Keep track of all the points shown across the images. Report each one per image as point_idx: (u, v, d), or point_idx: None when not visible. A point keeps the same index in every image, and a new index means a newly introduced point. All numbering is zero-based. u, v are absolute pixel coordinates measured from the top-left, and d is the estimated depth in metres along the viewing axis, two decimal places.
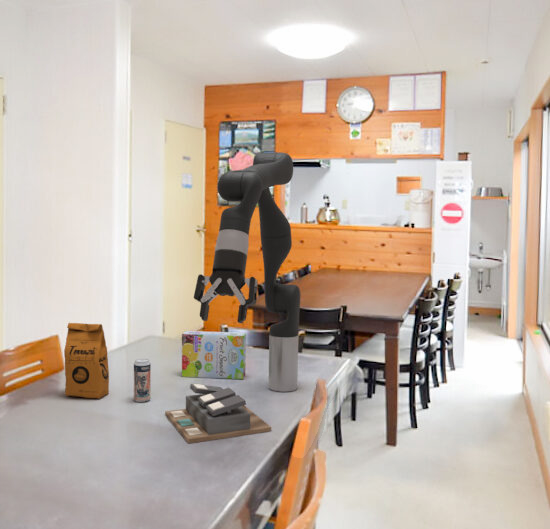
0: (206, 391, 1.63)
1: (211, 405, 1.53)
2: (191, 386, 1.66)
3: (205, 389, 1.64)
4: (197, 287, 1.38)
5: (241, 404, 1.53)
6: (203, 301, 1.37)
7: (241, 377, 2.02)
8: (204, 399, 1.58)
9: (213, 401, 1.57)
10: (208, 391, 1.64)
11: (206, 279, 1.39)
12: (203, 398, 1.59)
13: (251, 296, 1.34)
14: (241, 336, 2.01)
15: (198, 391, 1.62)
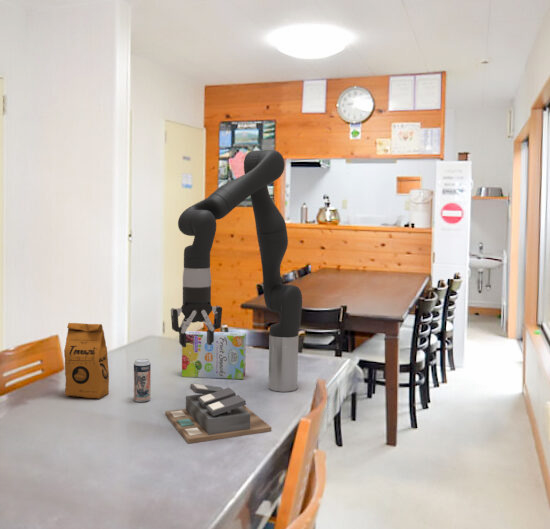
0: (206, 391, 1.63)
1: (211, 405, 1.53)
2: (191, 386, 1.66)
3: (205, 389, 1.64)
4: (175, 321, 1.59)
5: (241, 404, 1.53)
6: (183, 332, 1.61)
7: (241, 377, 2.02)
8: (204, 399, 1.58)
9: (213, 401, 1.57)
10: (208, 391, 1.64)
11: (179, 311, 1.60)
12: (203, 398, 1.59)
13: (218, 323, 1.64)
14: (241, 336, 2.01)
15: (198, 391, 1.62)
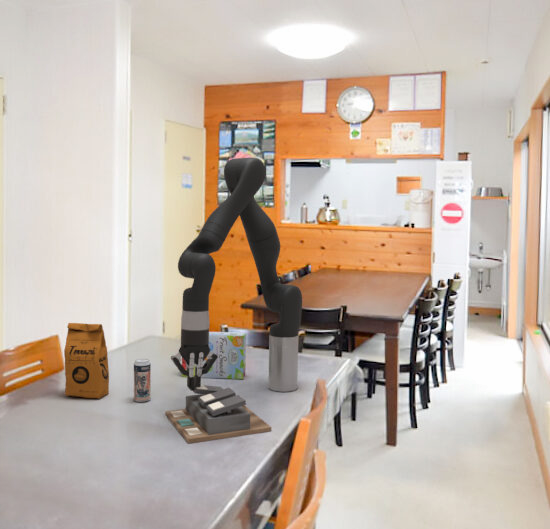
0: (206, 391, 1.63)
1: (211, 405, 1.53)
2: None
3: (205, 389, 1.64)
4: (180, 367, 1.61)
5: (241, 404, 1.53)
6: (192, 375, 1.63)
7: (241, 377, 2.02)
8: (204, 399, 1.58)
9: (213, 401, 1.57)
10: (208, 391, 1.64)
11: (178, 357, 1.61)
12: (203, 398, 1.59)
13: (207, 369, 1.64)
14: (241, 336, 2.01)
15: (198, 391, 1.62)
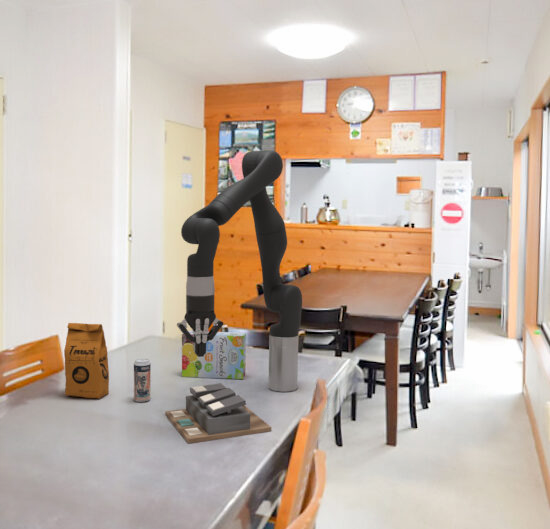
0: (206, 392, 1.63)
1: (211, 405, 1.53)
2: (191, 390, 1.66)
3: (204, 391, 1.64)
4: (186, 333, 1.60)
5: (241, 404, 1.53)
6: (199, 341, 1.62)
7: (241, 377, 2.02)
8: (204, 399, 1.58)
9: (213, 401, 1.57)
10: (208, 392, 1.64)
11: (184, 323, 1.61)
12: (203, 398, 1.59)
13: (212, 335, 1.63)
14: (241, 336, 2.01)
15: (198, 394, 1.63)
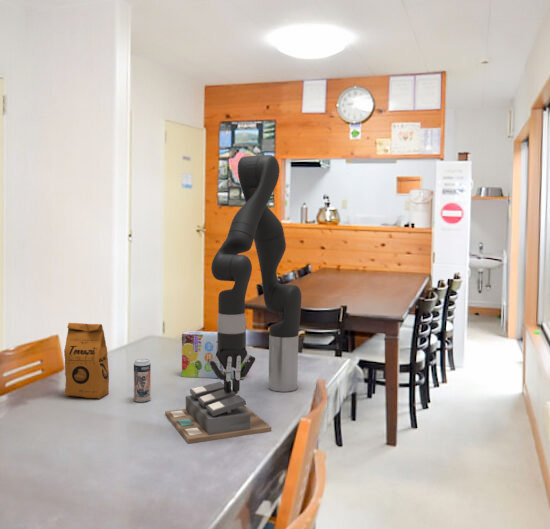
0: (206, 393, 1.63)
1: (211, 405, 1.53)
2: (191, 392, 1.66)
3: (204, 391, 1.64)
4: (217, 371, 1.58)
5: (241, 404, 1.53)
6: (229, 379, 1.60)
7: None
8: (204, 399, 1.58)
9: (213, 401, 1.57)
10: (208, 392, 1.64)
11: (215, 360, 1.58)
12: (203, 398, 1.59)
13: (245, 372, 1.61)
14: None
15: (198, 396, 1.63)
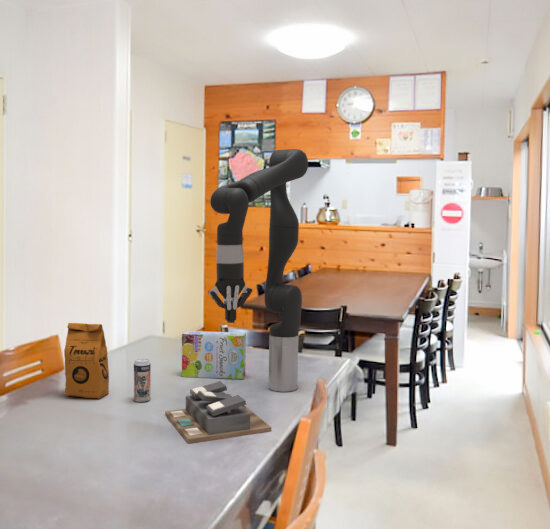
0: None
1: (211, 405, 1.53)
2: (191, 392, 1.66)
3: None
4: (218, 300, 1.65)
5: (241, 404, 1.53)
6: (230, 308, 1.67)
7: (241, 377, 2.02)
8: (205, 393, 1.58)
9: (213, 398, 1.57)
10: None
11: (215, 290, 1.66)
12: (204, 392, 1.59)
13: (242, 302, 1.69)
14: (241, 336, 2.01)
15: (198, 396, 1.63)
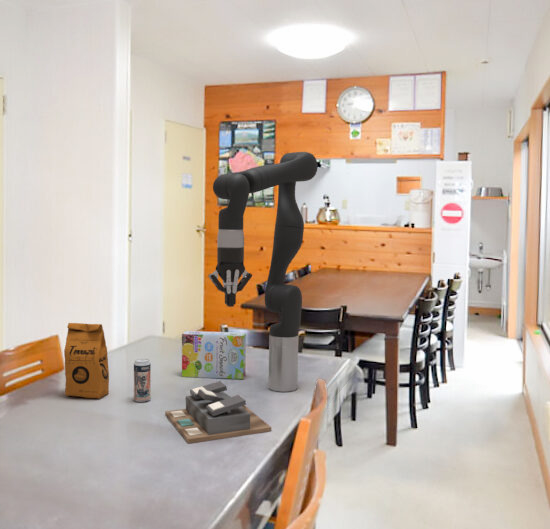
0: None
1: (211, 405, 1.53)
2: (191, 392, 1.66)
3: None
4: (218, 284, 1.69)
5: (241, 404, 1.53)
6: (230, 292, 1.70)
7: (241, 377, 2.02)
8: (206, 392, 1.58)
9: (214, 398, 1.57)
10: None
11: (215, 274, 1.69)
12: (205, 391, 1.59)
13: (242, 286, 1.72)
14: (241, 336, 2.01)
15: (198, 396, 1.63)
